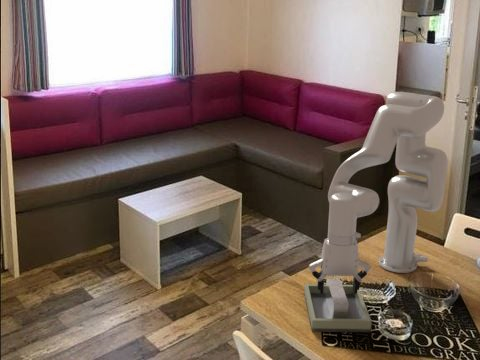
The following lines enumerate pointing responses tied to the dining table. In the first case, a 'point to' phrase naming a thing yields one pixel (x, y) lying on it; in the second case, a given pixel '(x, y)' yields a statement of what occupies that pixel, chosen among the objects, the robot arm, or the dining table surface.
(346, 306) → the bar
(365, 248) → the dining table surface
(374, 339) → the dining table surface
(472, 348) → the dining table surface
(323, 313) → the case
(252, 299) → the dining table surface
